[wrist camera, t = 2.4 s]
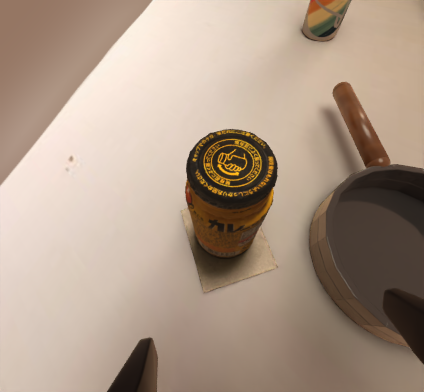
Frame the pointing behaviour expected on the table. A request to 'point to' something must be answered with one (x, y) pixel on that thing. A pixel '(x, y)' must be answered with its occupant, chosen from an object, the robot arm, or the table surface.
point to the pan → (371, 243)
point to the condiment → (229, 206)
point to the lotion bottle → (324, 18)
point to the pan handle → (360, 126)
